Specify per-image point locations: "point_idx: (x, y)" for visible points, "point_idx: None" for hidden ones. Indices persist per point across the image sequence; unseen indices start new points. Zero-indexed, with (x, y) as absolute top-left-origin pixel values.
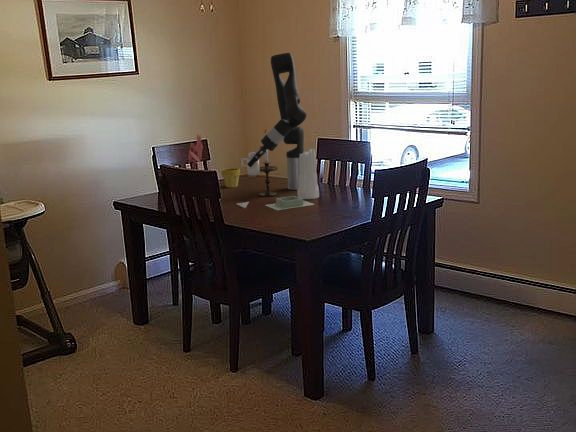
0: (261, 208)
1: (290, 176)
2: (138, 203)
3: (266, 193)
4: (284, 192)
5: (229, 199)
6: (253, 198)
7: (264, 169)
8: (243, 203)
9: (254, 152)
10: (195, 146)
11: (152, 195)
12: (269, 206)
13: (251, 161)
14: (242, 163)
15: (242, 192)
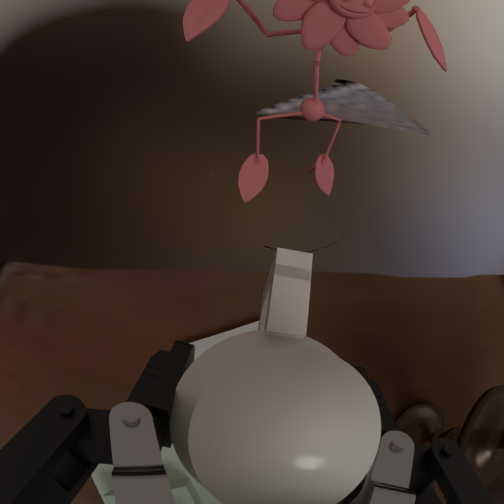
0: None
1: (491, 494)
2: (343, 98)
3: (412, 432)
4: None
5: (378, 292)
6: None
7: (483, 434)
8: None
9: (298, 482)
10: (420, 26)
11: (418, 128)
12: None
13: (136, 388)
14: (265, 289)
15: (467, 332)
